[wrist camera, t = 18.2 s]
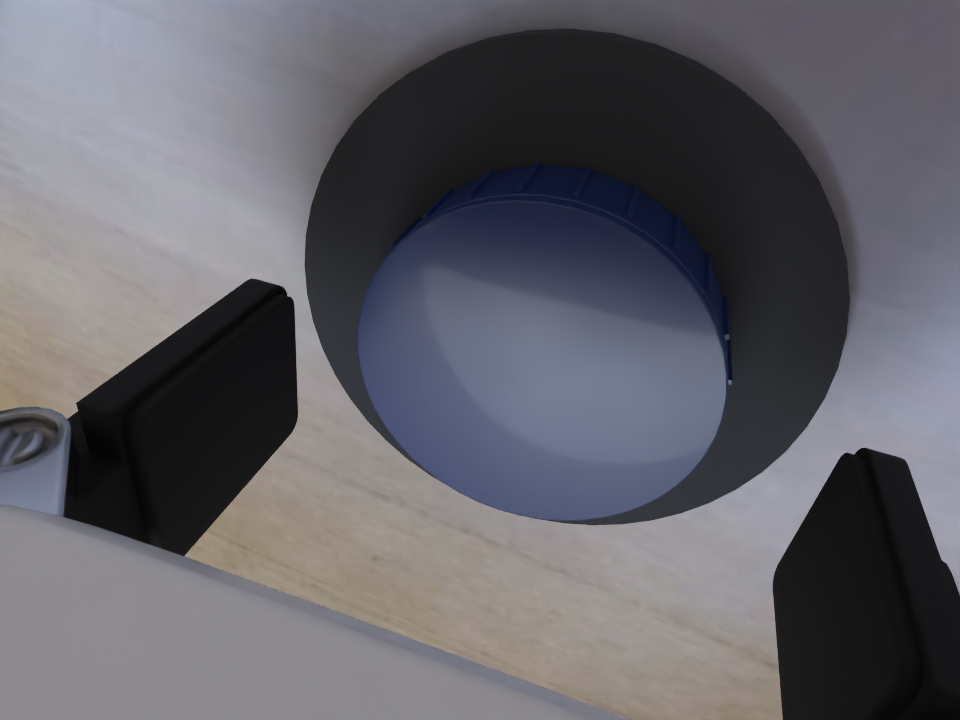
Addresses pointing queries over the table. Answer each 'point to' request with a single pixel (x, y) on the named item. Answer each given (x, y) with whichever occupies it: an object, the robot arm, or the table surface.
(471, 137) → the coaster
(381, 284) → the jar lid
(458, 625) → the table surface
